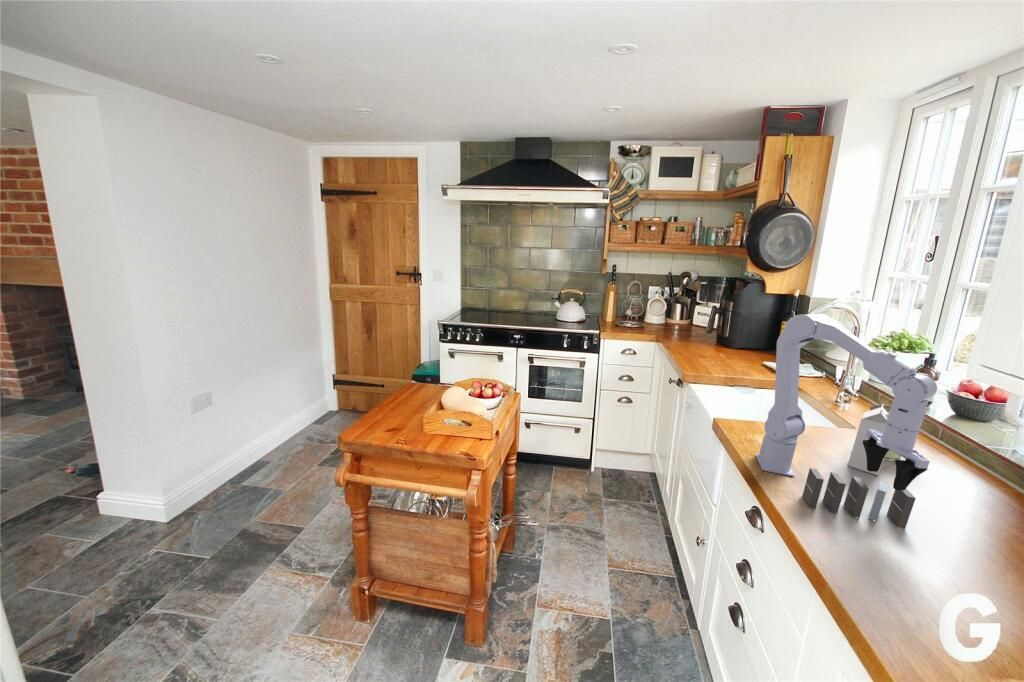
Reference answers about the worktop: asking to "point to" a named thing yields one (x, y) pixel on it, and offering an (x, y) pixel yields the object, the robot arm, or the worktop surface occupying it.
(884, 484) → the tile
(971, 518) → the worktop surface
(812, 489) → the tile
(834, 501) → the tile
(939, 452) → the worktop surface
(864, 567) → the worktop surface
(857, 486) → the tile
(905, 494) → the tile
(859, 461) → the milk carton
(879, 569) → the worktop surface
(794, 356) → the robot arm
